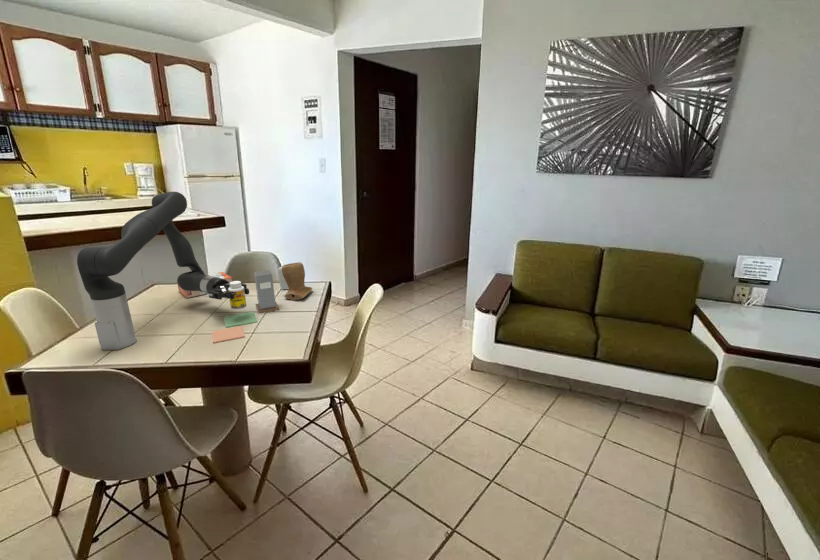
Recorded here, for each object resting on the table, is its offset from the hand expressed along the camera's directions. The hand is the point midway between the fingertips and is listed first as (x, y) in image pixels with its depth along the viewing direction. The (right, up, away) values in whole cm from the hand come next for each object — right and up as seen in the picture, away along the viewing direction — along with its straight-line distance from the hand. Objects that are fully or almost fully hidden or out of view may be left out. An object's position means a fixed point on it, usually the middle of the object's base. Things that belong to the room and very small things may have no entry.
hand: (240, 294), depth 149 cm
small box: (+5, +2, +43) cm, 43 cm away
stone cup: (+12, -2, +31) cm, 33 cm away
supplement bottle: (-2, -5, +3) cm, 7 cm away
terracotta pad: (-1, -14, -9) cm, 17 cm away
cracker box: (-26, +6, +47) cm, 54 cm away
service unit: (+4, -6, +16) cm, 18 cm away
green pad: (-2, -10, +4) cm, 11 cm away
